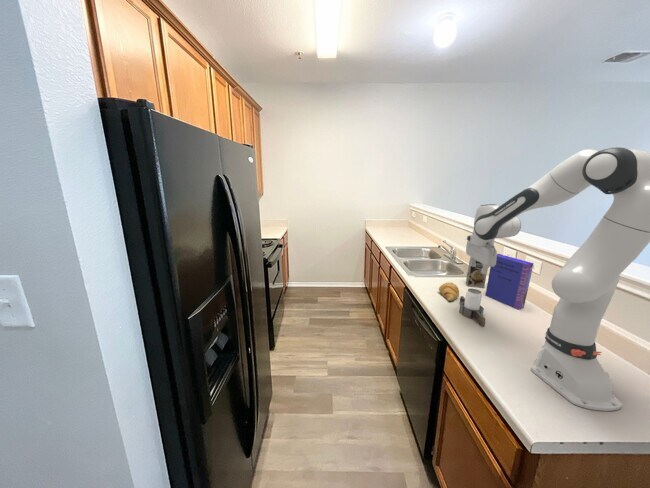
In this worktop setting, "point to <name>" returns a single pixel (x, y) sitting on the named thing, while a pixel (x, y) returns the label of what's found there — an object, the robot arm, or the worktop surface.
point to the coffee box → (476, 275)
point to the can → (473, 299)
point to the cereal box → (509, 281)
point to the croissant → (449, 291)
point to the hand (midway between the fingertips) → (477, 269)
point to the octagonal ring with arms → (475, 317)
